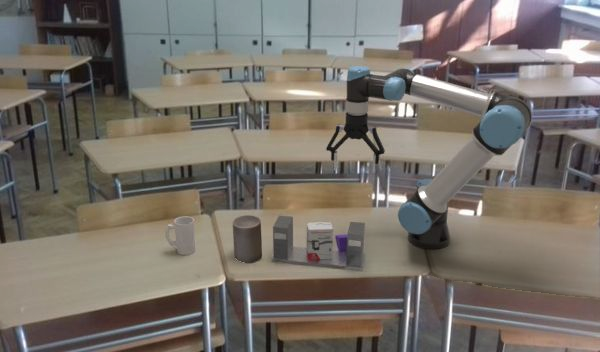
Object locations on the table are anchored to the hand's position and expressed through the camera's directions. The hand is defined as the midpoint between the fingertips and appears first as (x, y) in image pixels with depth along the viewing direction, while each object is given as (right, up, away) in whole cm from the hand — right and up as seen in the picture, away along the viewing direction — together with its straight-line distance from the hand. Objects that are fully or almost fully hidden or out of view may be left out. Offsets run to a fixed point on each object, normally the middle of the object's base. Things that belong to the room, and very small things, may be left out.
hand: (354, 170), depth 203 cm
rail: (-13, -31, -5) cm, 34 cm away
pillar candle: (-37, -30, -3) cm, 48 cm away
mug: (-61, -29, 0) cm, 68 cm away
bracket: (-2, -28, +4) cm, 28 cm away
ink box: (-13, -30, -5) cm, 33 cm away
